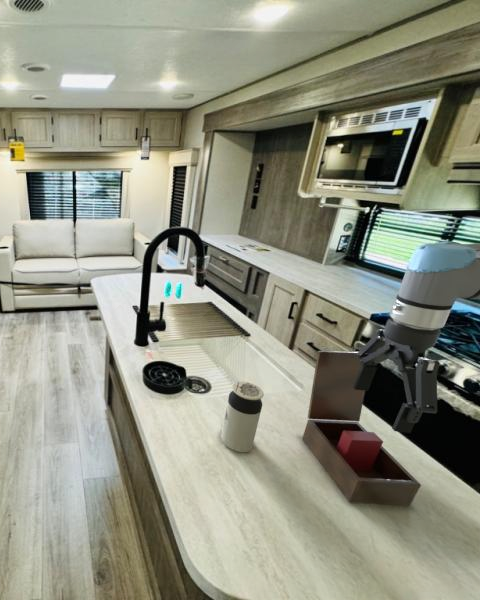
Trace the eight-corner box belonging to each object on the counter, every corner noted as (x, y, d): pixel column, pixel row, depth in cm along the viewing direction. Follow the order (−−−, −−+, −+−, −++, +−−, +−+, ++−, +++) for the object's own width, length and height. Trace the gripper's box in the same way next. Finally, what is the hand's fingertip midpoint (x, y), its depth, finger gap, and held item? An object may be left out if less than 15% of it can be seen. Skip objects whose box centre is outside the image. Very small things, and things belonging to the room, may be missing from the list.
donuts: (165, 294, 199) (166, 279, 196) (181, 295, 196) (183, 280, 192) (163, 299, 191) (164, 283, 187) (180, 301, 187) (182, 285, 184)
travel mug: (255, 440, 88) (268, 388, 82) (247, 458, 83) (260, 403, 76) (226, 426, 93) (236, 376, 87) (216, 442, 88) (226, 390, 81)
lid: (372, 353, 80) (355, 345, 86) (319, 351, 82) (306, 344, 87) (359, 421, 84) (343, 409, 90) (309, 419, 86) (296, 407, 91)
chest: (409, 506, 70) (421, 484, 68) (348, 502, 71) (358, 480, 69) (350, 441, 87) (357, 421, 85) (302, 438, 89) (308, 419, 86)
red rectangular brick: (370, 472, 77) (383, 441, 74) (339, 470, 78) (351, 439, 74) (361, 461, 80) (373, 431, 76) (332, 460, 81) (343, 430, 77)
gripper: (355, 299, 74) (331, 374, 82) (444, 353, 51) (399, 449, 59) (392, 300, 72) (364, 377, 80) (501, 357, 50) (447, 456, 57)
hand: (379, 408), depth 70 cm, fingers open, 13 cm apart
